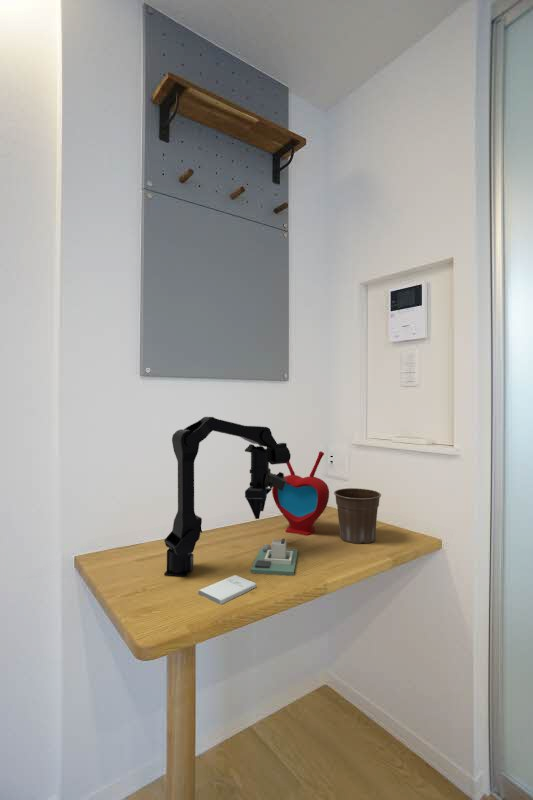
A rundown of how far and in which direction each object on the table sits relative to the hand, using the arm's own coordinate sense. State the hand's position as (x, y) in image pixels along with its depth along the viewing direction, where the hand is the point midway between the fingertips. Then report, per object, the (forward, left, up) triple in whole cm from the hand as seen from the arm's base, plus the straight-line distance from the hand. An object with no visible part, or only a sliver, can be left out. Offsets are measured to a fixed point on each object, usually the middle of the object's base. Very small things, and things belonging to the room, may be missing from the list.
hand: (259, 514), depth 131 cm
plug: (+7, -7, -11) cm, 15 cm away
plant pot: (+32, +19, -12) cm, 39 cm away
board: (+6, -7, -12) cm, 15 cm away
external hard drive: (-4, -28, -13) cm, 31 cm away
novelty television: (+12, +26, -12) cm, 31 cm away
